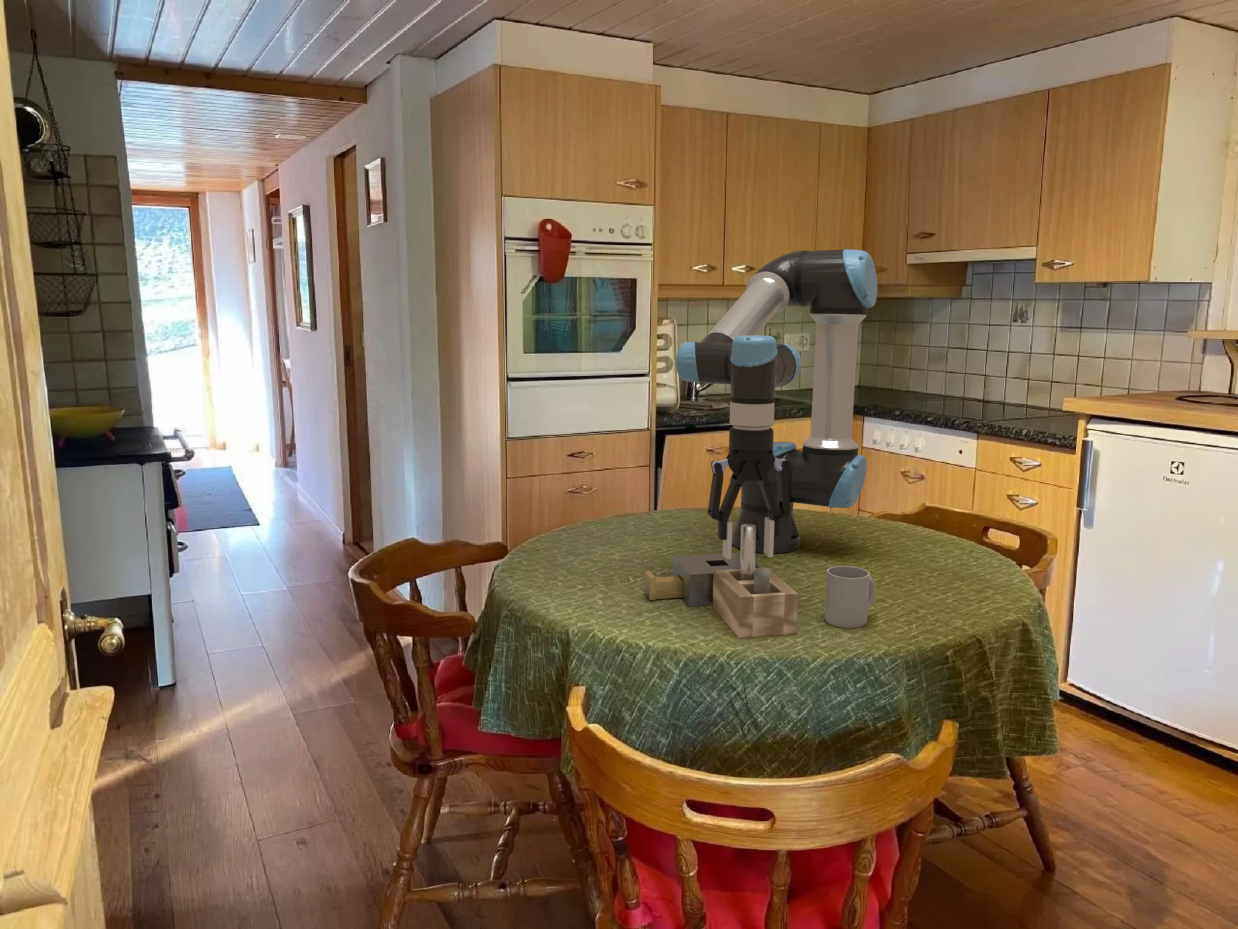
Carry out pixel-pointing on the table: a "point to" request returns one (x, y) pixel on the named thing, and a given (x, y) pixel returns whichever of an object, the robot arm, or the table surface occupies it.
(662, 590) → the brass square peg
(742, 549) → the round-ended peg
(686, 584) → the socket block
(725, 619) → the rack
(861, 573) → the cup
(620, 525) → the table surface
